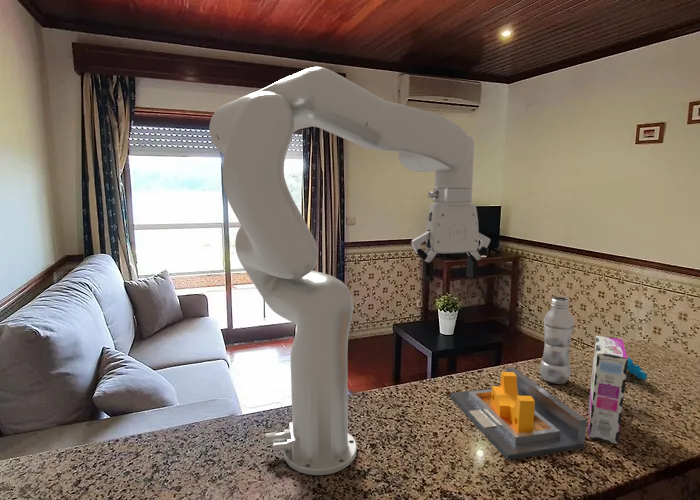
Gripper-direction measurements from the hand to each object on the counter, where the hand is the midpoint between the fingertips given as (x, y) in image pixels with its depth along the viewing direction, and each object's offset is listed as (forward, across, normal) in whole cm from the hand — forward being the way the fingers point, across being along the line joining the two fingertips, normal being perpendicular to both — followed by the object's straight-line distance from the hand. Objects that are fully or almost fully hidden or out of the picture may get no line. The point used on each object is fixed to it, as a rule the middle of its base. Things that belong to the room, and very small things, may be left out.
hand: (450, 278), depth 90 cm
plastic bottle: (+26, +28, +1) cm, 39 cm away
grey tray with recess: (+26, +8, -12) cm, 30 cm away
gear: (+27, +46, -1) cm, 53 cm away
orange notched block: (+25, +8, -12) cm, 29 cm away
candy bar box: (+26, +24, -18) cm, 40 cm away
